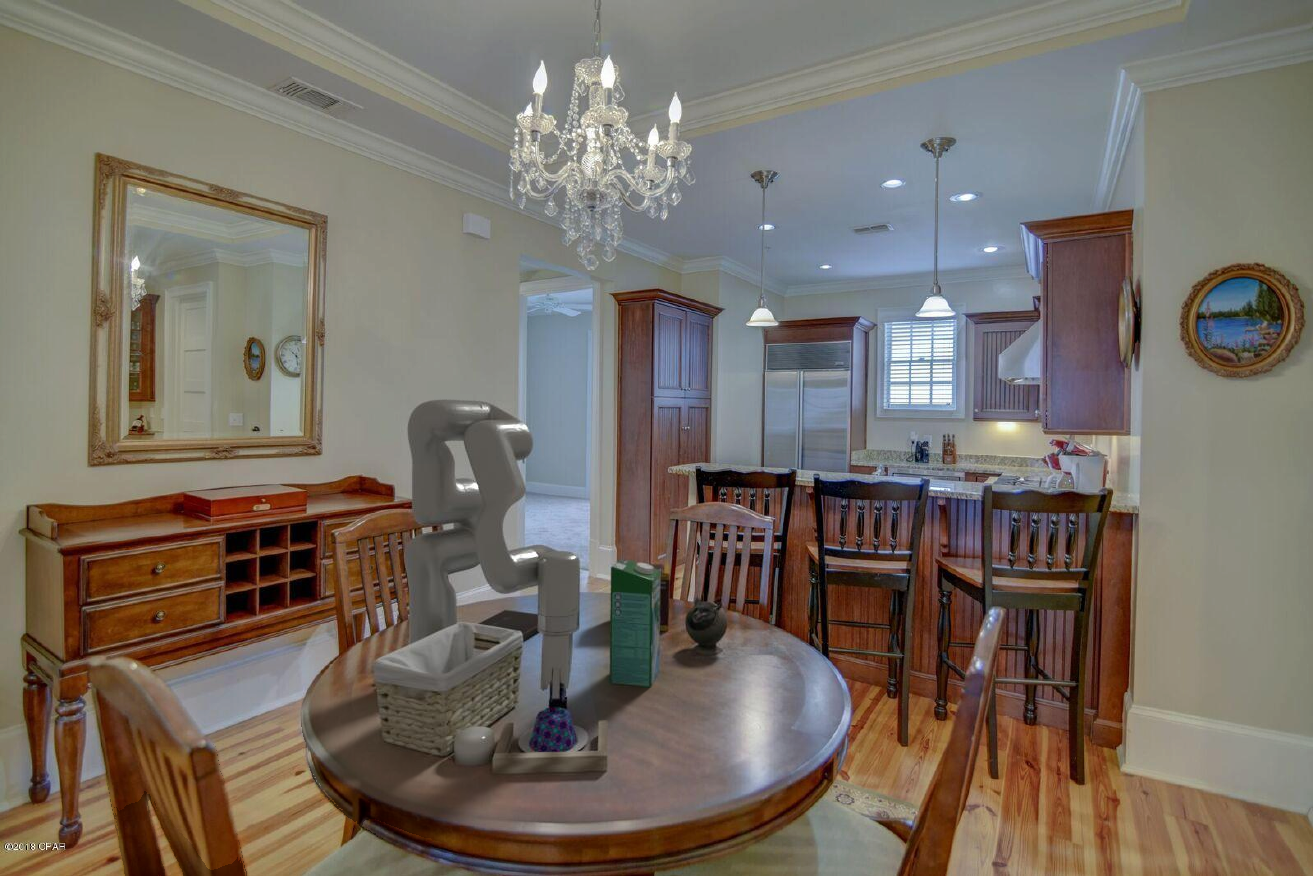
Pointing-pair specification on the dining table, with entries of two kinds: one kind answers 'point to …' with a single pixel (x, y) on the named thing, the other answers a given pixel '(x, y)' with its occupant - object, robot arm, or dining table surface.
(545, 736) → the pudding
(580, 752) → the display stand
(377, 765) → the dining table surface
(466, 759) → the egg
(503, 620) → the hardcover book
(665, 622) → the supplement box
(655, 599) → the milk carton
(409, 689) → the storage basket
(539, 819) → the dining table surface
